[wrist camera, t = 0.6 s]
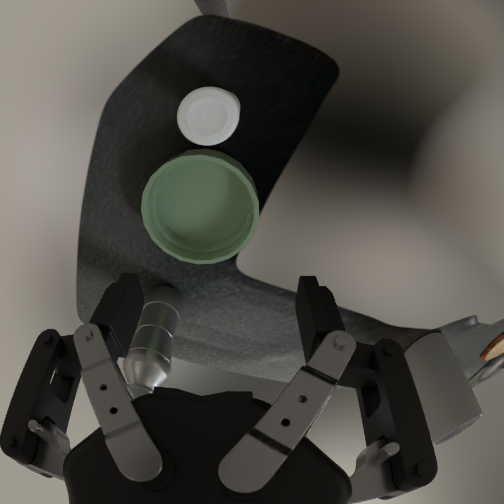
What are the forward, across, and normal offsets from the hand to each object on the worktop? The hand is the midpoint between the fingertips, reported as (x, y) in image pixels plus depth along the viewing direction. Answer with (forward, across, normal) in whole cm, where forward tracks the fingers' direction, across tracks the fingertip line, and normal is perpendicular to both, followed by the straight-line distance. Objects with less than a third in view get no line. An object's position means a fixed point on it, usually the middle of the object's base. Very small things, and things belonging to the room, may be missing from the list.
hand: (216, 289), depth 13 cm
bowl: (+23, +4, +5) cm, 24 cm away
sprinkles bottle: (+24, +1, -7) cm, 25 cm away
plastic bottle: (+23, +11, +21) cm, 34 cm away
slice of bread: (+23, -92, +49) cm, 107 cm away
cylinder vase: (+23, -46, +40) cm, 65 cm away
